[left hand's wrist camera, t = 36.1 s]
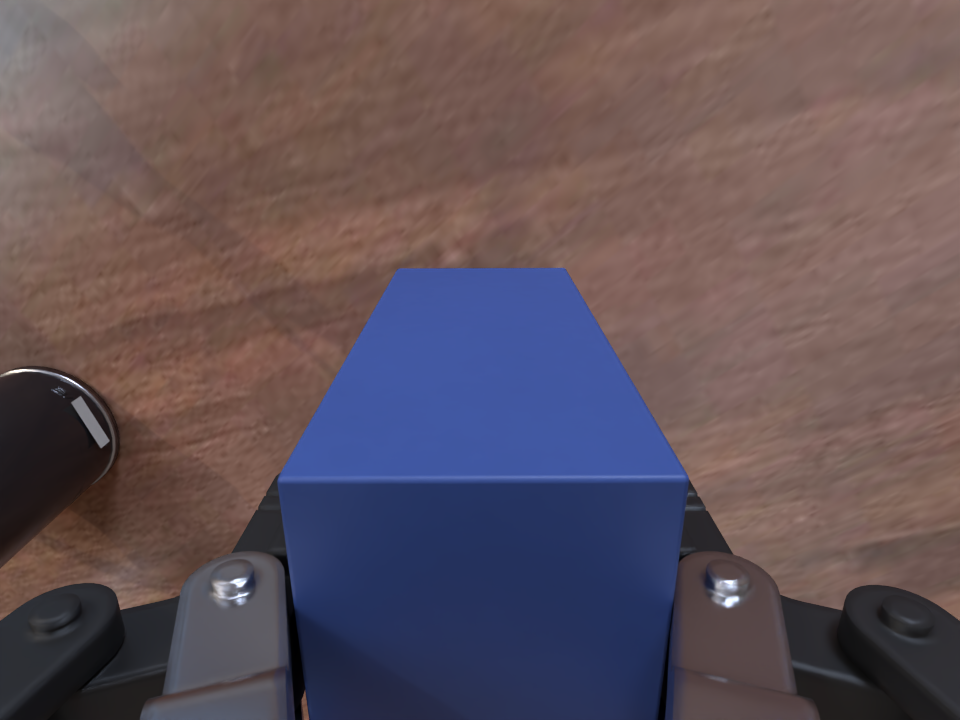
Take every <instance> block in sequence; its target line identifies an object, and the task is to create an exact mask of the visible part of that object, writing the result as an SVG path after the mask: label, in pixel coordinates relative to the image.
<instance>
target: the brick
mask: <svg viewBox="0 0 960 720" xmlns="http://www.w3.org/2000/svg"><path fill="white" fill-rule="evenodd" d="M277 483H278V491H279V498H280V506H281V513H282V520H283V528H284V535H285V543H286V550H287V558H288V565H289V572H290V580H291V587H292V595H293V602H294V609H295V617H296V624H297V632H298V639H299V646H300V654H301V661H302V669H303V676H304V684H305V691H306V698H307V706H308V713H309V720H658V714H659V706H660V699H661V691H662V683H663V676H664V668H665V661H666V653H667V645H668V638H669V630H670V623H671V615H672V607H673V600H674V592H675V584H676V577H677V569H678V562H679V554H680V546H681V539H682V531H683V524H684V516H685V508H686V501H687V493H688V485H689V478H688V475H687V473H686V472H685V470H684V468H683V467H682V465H681V463H680V462H679V460H678V458H677V457H676V455H675V453H674V451H673V450H672V448H671V446H670V445H669V443H668V441H667V440H666V438H665V436H664V435H663V433H662V431H661V430H660V428H659V426H658V424H657V423H656V421H655V419H654V418H653V416H652V414H651V413H650V411H649V409H648V408H647V406H646V404H645V402H644V401H643V399H642V397H641V396H640V394H639V392H638V391H637V389H636V387H635V386H634V384H633V382H632V381H631V379H630V377H629V375H628V374H627V372H626V370H625V369H624V367H623V365H622V364H621V362H620V360H619V359H618V357H617V355H616V353H615V352H614V350H613V348H612V347H611V345H610V343H609V342H608V340H607V338H606V337H605V335H604V333H603V332H602V330H601V328H600V326H599V325H598V323H597V321H596V320H595V318H594V316H593V315H592V313H591V311H590V310H589V308H588V306H587V304H586V303H585V301H584V299H583V298H582V296H581V294H580V293H579V291H578V289H577V288H576V286H575V284H574V283H573V281H572V279H571V277H570V276H569V274H568V272H567V271H566V269H564V268H435V269H397V271H396V273H395V274H394V276H393V278H392V280H391V281H390V283H389V285H388V287H387V288H386V290H385V292H384V294H383V295H382V297H381V299H380V301H379V302H378V304H377V306H376V308H375V309H374V311H373V313H372V315H371V316H370V318H369V320H368V322H367V323H366V325H365V327H364V329H363V330H362V332H361V334H360V336H359V337H358V339H357V341H356V343H355V344H354V346H353V348H352V349H351V351H350V353H349V355H348V356H347V358H346V360H345V362H344V363H343V365H342V367H341V369H340V370H339V372H338V374H337V376H336V377H335V379H334V381H333V383H332V384H331V386H330V388H329V390H328V391H327V393H326V395H325V397H324V398H323V400H322V402H321V404H320V405H319V407H318V409H317V411H316V412H315V414H314V416H313V418H312V419H311V421H310V423H309V425H308V426H307V428H306V430H305V432H304V433H303V435H302V437H301V439H300V440H299V442H298V444H297V446H296V447H295V449H294V451H293V453H292V454H291V456H290V458H289V459H288V461H287V463H286V465H285V466H284V468H283V470H282V472H281V473H280V475H279V477H278V480H277Z"/></svg>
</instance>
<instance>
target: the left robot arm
mask: <svg viewBox="0 0 960 720" xmlns="http://www.w3.org/2000/svg"><path fill="white" fill-rule="evenodd" d="M118 450H119V432H118V428H117V424H116V421H115V419H114V417H113V415H112V413H111V411H110V409H109V408H108V406H107V405H106V403H105V402H104V401H103V400H102V398H101V397H100V396H99V395H98V394H97V393H96V392H95V391H94V390H93V389H92V388H90V387H89V386H88V385H86V384H85V383H84V382H82V381H81V380H79V379H77V378H75V377H74V376H72V375H70V374H67V373H65V372H62V371H59V370H56V369H52V368H48V367H40V366H26V367H20V368H15V369H12V370H9V371H7V372H5V373H3V374H1V375H0V568H1V567H3V566H4V565H5V564H6V563H7V562H8V561H9V560H10V559H11V558H12V557H13V556H14V555H16V554H17V553H18V552H19V551H20V550H21V549H22V548H23V547H24V546H25V545H26V544H27V543H29V542H30V541H31V540H32V539H33V538H34V537H35V536H36V535H37V534H38V533H39V532H40V531H42V530H43V529H44V528H45V527H46V526H47V525H48V524H49V523H50V522H51V521H52V520H53V519H55V518H56V517H57V516H58V515H59V514H60V513H61V512H62V511H63V510H64V509H65V508H66V507H68V506H69V505H70V504H71V503H72V502H73V501H74V500H76V499H77V498H78V497H79V496H80V495H81V494H82V493H83V492H84V491H85V490H86V489H87V488H88V487H90V486H91V485H92V484H94V483H95V482H97V481H98V480H99V479H100V478H102V477H103V476H104V475H105V474H106V473H107V472H108V471H109V470H110V468H111V467H112V465H113V464H114V462H115V460H116V457H117V455H118ZM279 475H280V474H278V475H277V476H276V477H275V479H274V481H273V482H272V484H271V486H270V488H269V489H268V491H267V493H266V496H264V498H263V500H262V501H261V503H260V505H259V507H258V510H256V512H255V513H254V515H253V517H252V519H251V520H250V522H249V524H248V525H247V527H246V529H245V531H244V532H243V534H242V536H241V538H240V539H239V541H238V543H237V544H236V546H235V548H234V550H233V551H232V553H231V554H227V555H224V556H221V557H218V558H216V559H214V560H211V561H209V562H208V563H206V564H204V565H203V566H201V567H200V568H198V569H197V570H196V571H195V572H193V573H192V574H191V575H190V576H189V578H188V579H187V580H186V581H185V583H184V585H183V586H182V589H181V593H180V596H177V597H175V598H171V599H167V600H164V601H159V602H155V603H150V604H146V605H141V606H137V607H132V608H128V609H123V610H120V607H119V604H118V600H117V597H116V594H115V593H114V591H113V590H112V589H110V588H109V587H107V586H104V585H101V584H94V583H82V584H74V585H69V586H64V587H61V588H57V589H54V590H52V591H49V592H46V593H44V594H42V595H39V596H37V597H35V598H33V599H32V600H30V601H28V602H26V603H25V604H23V605H22V606H20V607H19V608H17V609H16V610H14V611H13V612H12V613H10V614H9V615H8V616H6V617H5V618H4V619H2V620H1V621H0V720H304V716H303V707H302V697H303V694H304V691H305V684H304V676H303V669H302V661H301V654H300V646H299V639H298V632H297V624H296V617H295V609H294V602H293V595H292V587H291V580H290V572H289V565H288V558H287V550H286V543H285V535H284V528H283V520H282V513H281V506H280V498H279V491H278V483H277V480H278V477H279ZM705 508H706V507H705V506H704V504H703V502H702V500H701V499H700V497H698V496H697V492H696V490H695V489H694V487H693V485H692V484H691V482H690V480H689V485H688V493H687V501H686V508H685V516H684V524H683V531H682V539H681V546H680V554H679V562H678V569H677V577H676V584H675V592H674V600H673V607H672V615H671V623H670V630H669V638H668V645H667V653H666V661H665V668H664V676H663V683H662V691H661V699H660V706H659V714H658V720H960V621H959V620H958V619H956V618H955V617H954V616H952V615H951V614H950V613H948V612H947V611H945V610H944V609H943V608H941V607H940V606H938V605H937V604H935V603H933V602H931V601H929V600H928V599H925V598H923V597H921V596H919V595H917V594H914V593H911V592H909V591H906V590H902V589H899V588H895V587H889V586H882V585H867V586H861V587H858V588H855V589H853V590H852V591H850V592H849V594H848V595H847V596H846V599H845V602H844V606H843V610H838V609H833V608H829V607H824V606H819V605H815V604H810V603H806V602H801V601H798V600H794V599H790V598H788V597H785V596H782V595H780V593H779V589H778V587H777V585H776V583H775V581H774V580H773V579H772V578H771V576H770V575H769V574H768V573H767V572H765V571H764V570H763V569H762V568H760V567H759V566H757V565H756V564H754V563H752V562H751V561H749V560H746V559H744V558H742V557H739V556H736V555H733V553H732V551H731V550H730V548H729V546H728V545H727V543H726V541H725V540H724V538H723V536H722V534H721V533H720V531H719V529H718V528H717V526H716V524H715V523H714V521H713V519H712V517H711V516H710V514H709V512H708V511H706V509H705Z"/></svg>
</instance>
